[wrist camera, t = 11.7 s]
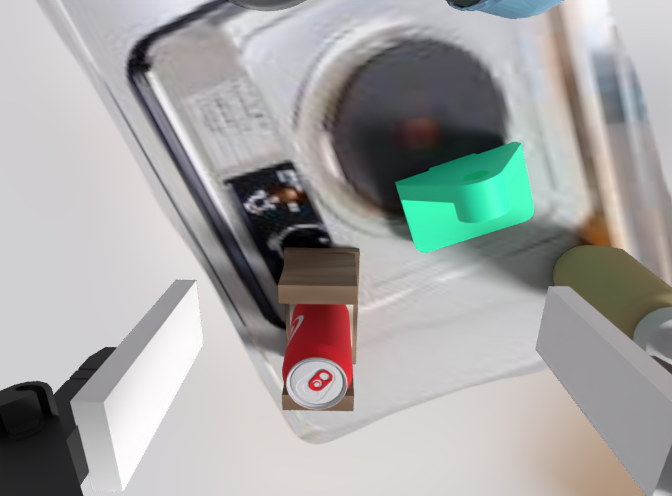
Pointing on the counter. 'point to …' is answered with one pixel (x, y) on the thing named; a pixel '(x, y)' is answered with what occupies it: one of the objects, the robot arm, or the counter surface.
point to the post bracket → (321, 296)
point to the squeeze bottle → (621, 294)
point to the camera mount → (467, 197)
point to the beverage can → (318, 355)
